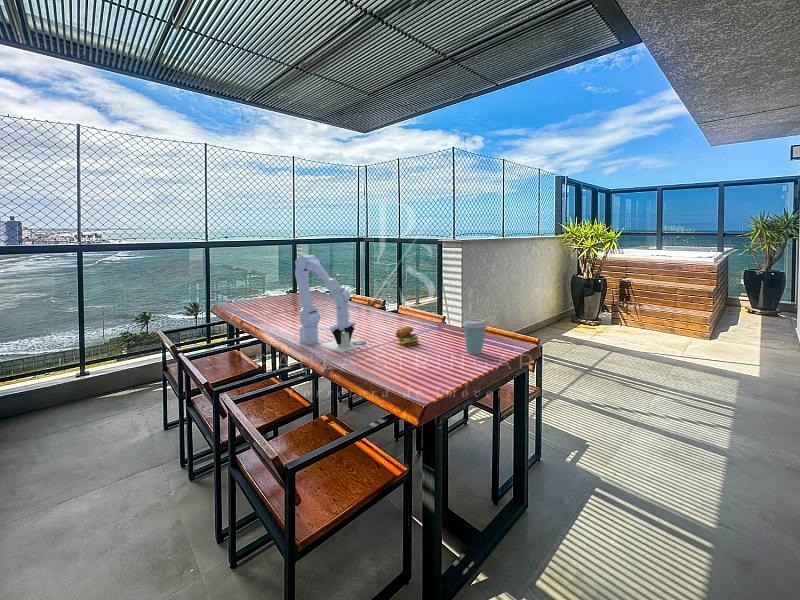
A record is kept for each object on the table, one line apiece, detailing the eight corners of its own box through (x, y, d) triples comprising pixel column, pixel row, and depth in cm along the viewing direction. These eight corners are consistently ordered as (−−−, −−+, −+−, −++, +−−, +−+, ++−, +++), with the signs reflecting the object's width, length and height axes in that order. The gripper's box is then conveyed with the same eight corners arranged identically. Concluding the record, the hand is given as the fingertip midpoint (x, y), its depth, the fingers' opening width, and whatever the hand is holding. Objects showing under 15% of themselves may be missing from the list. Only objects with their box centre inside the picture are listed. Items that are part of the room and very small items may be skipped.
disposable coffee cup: (459, 354, 169) (460, 322, 166) (465, 348, 179) (465, 317, 176) (483, 357, 165) (484, 323, 162) (487, 350, 175) (488, 318, 172)
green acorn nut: (335, 345, 184) (335, 333, 183) (344, 342, 188) (343, 331, 187) (343, 347, 180) (342, 335, 179) (351, 344, 185) (351, 333, 184)
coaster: (349, 343, 187) (349, 343, 187) (360, 340, 192) (360, 340, 192) (359, 346, 182) (359, 345, 182) (369, 343, 187) (369, 342, 187)
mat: (317, 346, 185) (317, 345, 185) (346, 338, 199) (346, 337, 199) (342, 353, 173) (342, 352, 173) (371, 344, 187) (371, 343, 187)
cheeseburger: (418, 347, 181) (413, 327, 179) (397, 351, 183) (391, 331, 182) (421, 341, 190) (416, 322, 189) (401, 345, 193) (396, 326, 192)
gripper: (336, 319, 174) (337, 347, 176) (359, 314, 185) (360, 340, 187) (326, 317, 178) (327, 345, 181) (349, 312, 189) (350, 338, 191)
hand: (343, 342), depth 184 cm, fingers closed on green acorn nut, 6 cm apart
